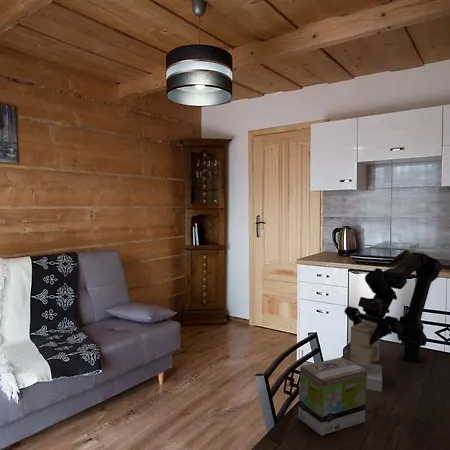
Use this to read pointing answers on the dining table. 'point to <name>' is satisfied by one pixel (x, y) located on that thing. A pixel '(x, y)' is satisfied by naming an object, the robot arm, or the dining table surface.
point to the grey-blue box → (372, 376)
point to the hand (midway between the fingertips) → (361, 341)
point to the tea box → (332, 395)
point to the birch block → (363, 344)
